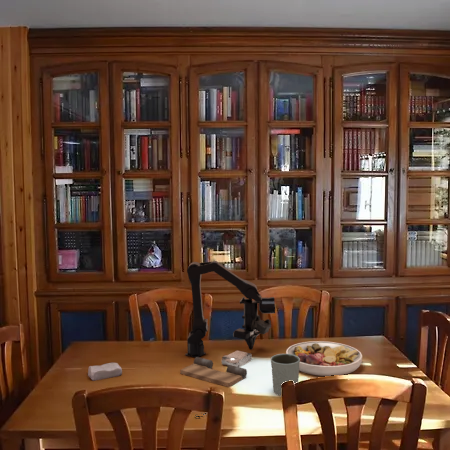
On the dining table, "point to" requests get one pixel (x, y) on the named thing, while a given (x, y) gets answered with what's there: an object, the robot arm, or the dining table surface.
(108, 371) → the stone block
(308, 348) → the bowl
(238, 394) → the dining table surface
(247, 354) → the pale pink block
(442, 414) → the dining table surface
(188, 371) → the striped wooden board
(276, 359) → the gray green cup
